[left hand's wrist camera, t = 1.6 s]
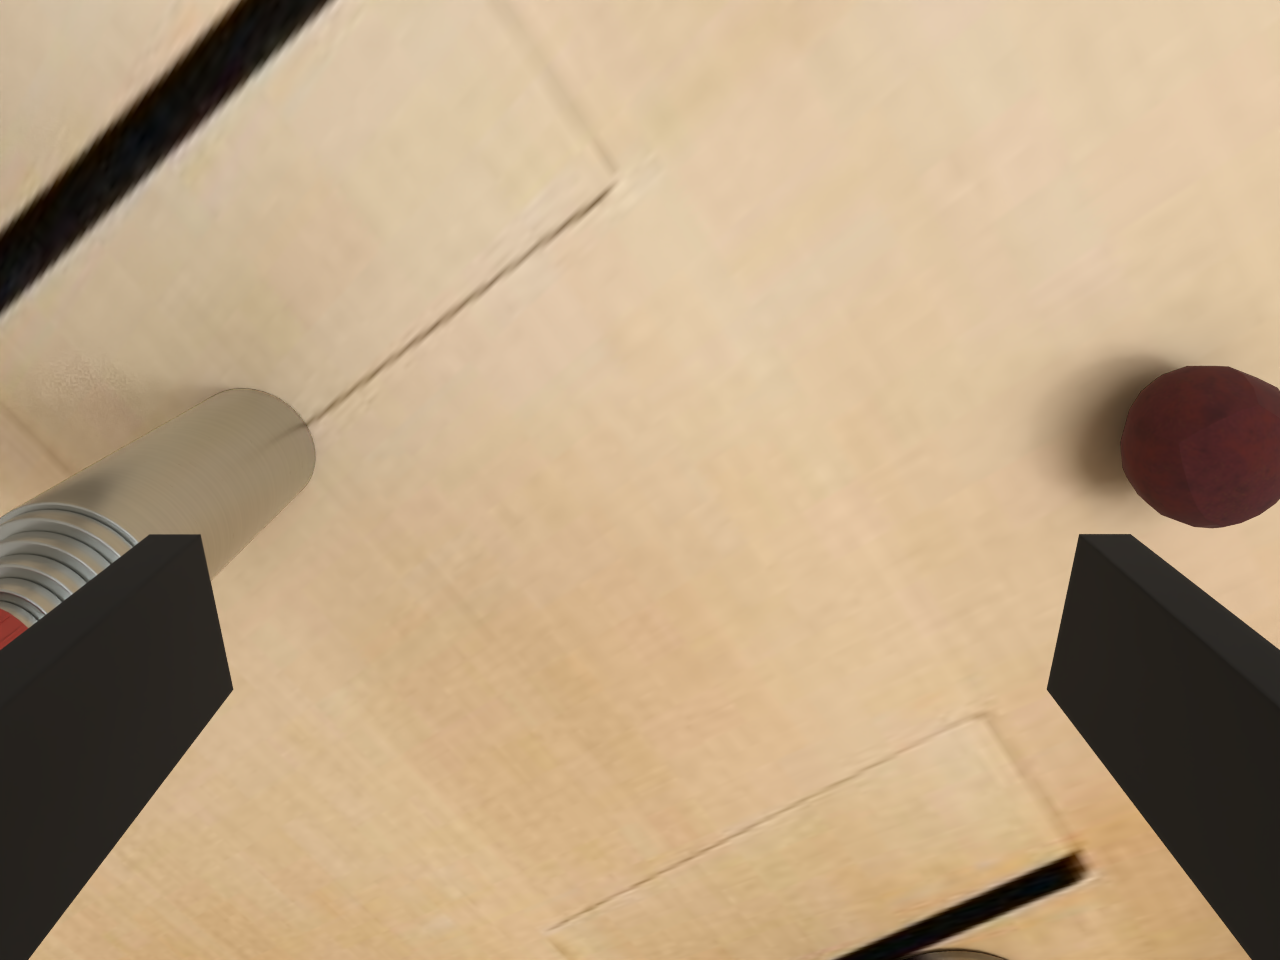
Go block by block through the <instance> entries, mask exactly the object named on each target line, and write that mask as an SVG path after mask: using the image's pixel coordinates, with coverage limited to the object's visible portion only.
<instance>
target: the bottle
mask: <svg viewBox="0 0 1280 960" xmlns="http://www.w3.org/2000/svg"><path fill="white" fill-rule="evenodd" d="M314 465H315V449H314V443H313V440H312V437H311V434H310V432H309V430H308V428H307V426H306V424H305V423H304V421H303V420H302V419H301V417H300V416H299V415H298V414H297V413H296V412H295V411H294V410H293V409H292V408H291V407H290V406H289V405H287V404H286V403H285V402H283V401H282V400H280V399H278V398H276V397H275V396H273V395H270V394H268V393H265V392H262V391H258V390H253V389H231V390H227V391H223V392H221V393H218V394H216V395H214V396H212V397H210V398H209V399H207V400H205V401H203V402H202V403H200V404H198V405H196V406H195V407H193V408H191V409H189V410H188V411H186V412H184V413H182V414H181V415H179V416H177V417H175V418H173V419H172V420H170V421H168V422H166V423H165V424H163V425H161V426H159V427H158V428H156V429H154V430H152V431H151V432H149V433H147V434H145V435H144V436H142V437H140V438H138V439H136V440H135V441H133V442H131V443H129V444H128V445H126V446H124V447H122V448H121V449H119V450H117V451H115V452H114V453H112V454H110V455H108V456H107V457H105V458H103V459H101V460H100V461H98V462H96V463H94V464H92V465H91V466H89V467H87V468H85V469H84V470H82V471H80V472H78V473H77V474H75V475H73V476H71V477H70V478H68V479H66V480H64V481H63V482H61V483H59V484H57V485H55V486H54V487H52V488H50V489H48V490H47V491H45V492H43V493H41V494H40V495H38V496H36V497H34V498H33V499H31V500H29V501H27V502H26V503H24V504H22V505H20V506H19V507H17V508H15V509H13V510H11V511H10V512H8V513H7V514H5V515H3V516H2V517H1V518H0V608H1V609H3V610H5V611H7V612H9V613H11V614H12V615H13V616H15V617H16V618H17V619H19V620H20V621H21V622H22V623H24V624H25V625H26V626H27V627H28V628H29V627H31V626H32V625H33V624H35V623H36V622H37V621H38V620H40V619H41V618H42V617H44V616H45V615H46V614H47V613H49V612H50V611H51V610H53V609H54V608H55V607H56V606H58V605H59V604H60V603H62V602H63V601H64V600H65V599H67V598H68V597H69V596H71V595H72V594H73V593H74V592H76V591H77V590H78V589H80V588H81V587H82V586H83V585H85V584H86V583H87V582H89V581H90V580H91V579H92V578H94V577H95V576H96V575H98V574H99V573H100V572H102V571H103V570H104V569H105V568H107V567H108V566H109V565H111V564H112V563H113V562H114V561H116V560H117V559H118V558H120V557H121V556H122V555H123V554H125V553H126V552H127V551H129V550H130V549H131V548H132V547H134V546H135V545H136V544H138V543H139V542H140V541H141V540H143V539H144V538H145V537H147V536H148V535H149V534H201V538H202V543H203V547H204V552H205V557H206V562H207V567H208V571H209V576H210V581H211V580H212V579H213V578H214V577H215V576H216V575H217V574H218V573H219V572H220V571H221V570H222V569H223V568H224V567H225V566H226V565H227V564H228V563H229V562H230V561H231V560H232V559H233V558H234V557H235V556H236V555H237V554H238V553H239V552H240V551H241V550H242V549H243V548H244V547H245V546H246V545H247V544H248V543H249V542H250V541H251V540H252V539H253V538H254V537H255V536H256V535H257V534H258V533H259V532H260V531H262V530H263V529H264V528H265V527H266V526H267V525H268V524H269V523H270V522H271V521H272V520H273V519H274V518H275V517H276V516H277V515H278V514H279V513H280V512H281V511H282V510H283V509H284V508H285V507H286V506H287V505H288V504H289V503H290V502H291V501H292V500H293V499H294V498H295V497H296V496H297V495H298V494H299V493H300V492H301V491H302V489H303V488H304V487H305V486H306V485H307V483H308V482H309V480H310V478H311V476H312V473H313V470H314Z"/></svg>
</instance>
